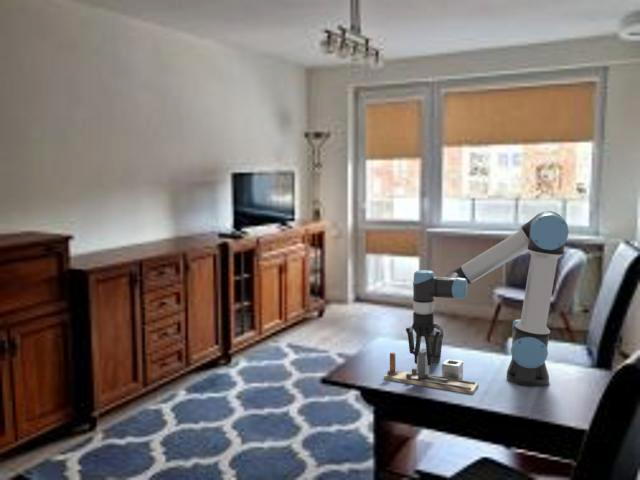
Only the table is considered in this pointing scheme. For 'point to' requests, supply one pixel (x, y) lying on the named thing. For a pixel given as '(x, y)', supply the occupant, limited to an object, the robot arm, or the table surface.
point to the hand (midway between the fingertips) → (423, 372)
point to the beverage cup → (438, 355)
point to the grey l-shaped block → (421, 367)
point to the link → (452, 369)
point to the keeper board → (413, 379)
